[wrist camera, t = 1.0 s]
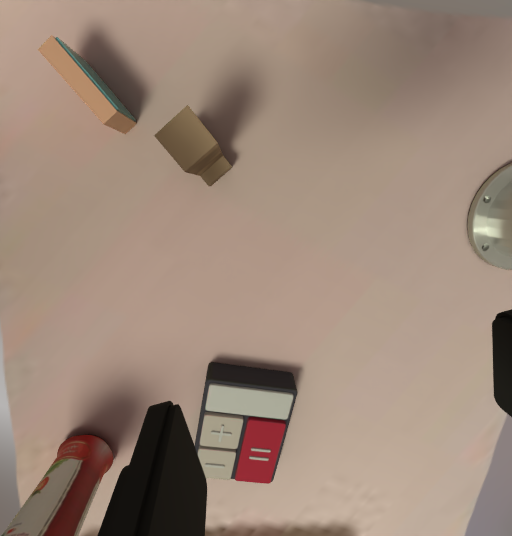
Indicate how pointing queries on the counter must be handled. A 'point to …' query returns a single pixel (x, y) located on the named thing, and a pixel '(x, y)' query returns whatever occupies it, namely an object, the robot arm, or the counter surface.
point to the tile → (87, 85)
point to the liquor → (64, 490)
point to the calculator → (243, 422)
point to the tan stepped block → (193, 147)
